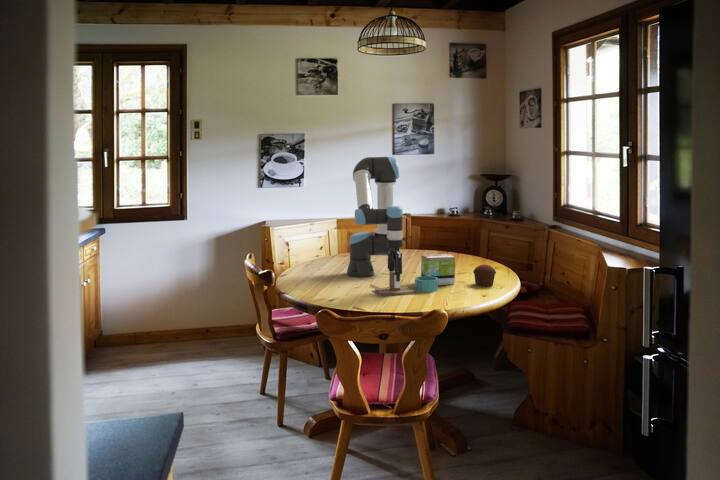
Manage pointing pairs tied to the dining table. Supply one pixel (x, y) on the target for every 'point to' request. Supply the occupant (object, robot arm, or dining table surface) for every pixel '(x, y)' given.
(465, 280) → the dining table surface
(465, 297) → the dining table surface
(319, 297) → the dining table surface
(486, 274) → the muffin
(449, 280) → the tea box
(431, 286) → the teal bowl
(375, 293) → the charcoal mat
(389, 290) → the walnut lid
